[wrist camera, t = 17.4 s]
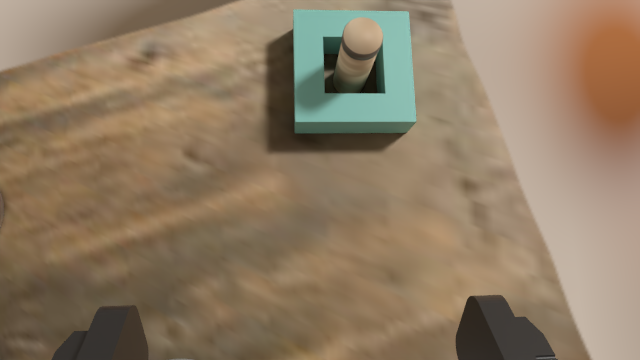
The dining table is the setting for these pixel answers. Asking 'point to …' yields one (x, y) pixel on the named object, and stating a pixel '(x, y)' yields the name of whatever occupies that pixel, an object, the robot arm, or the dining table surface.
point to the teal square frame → (352, 108)
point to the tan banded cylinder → (357, 54)
